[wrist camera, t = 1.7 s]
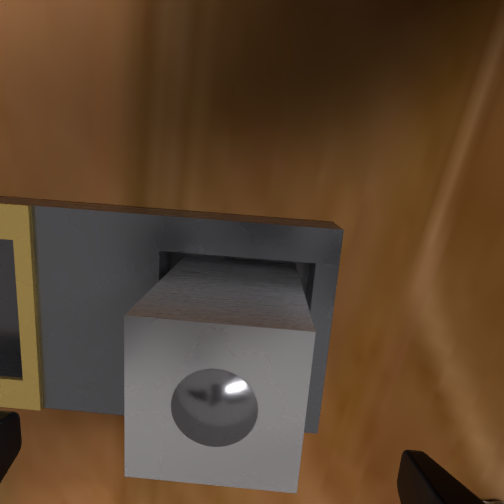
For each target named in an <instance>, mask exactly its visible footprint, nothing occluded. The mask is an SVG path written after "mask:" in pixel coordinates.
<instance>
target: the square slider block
mask: <svg viewBox="0 0 504 504" xmlns="http://www.w3.org/2000/svg"><path fill="white" fill-rule="evenodd" d="M315 334H316V331H315V328H314V324H313V321H312V318H311V315H310V311H309V308H308V305H307V301H306V298H305V295H304V291H303V288H302V285H301V281H300V278H299V275H298V271H297V268H296V265H290V264H277V263H265V262H253V261H241V260H228V259H216V258H204V257H191V256H184V257H183V258H182V259H181V260H180V261H179V262H178V263H177V264H176V265H175V266H174V267H173V268H172V269H171V270H170V271H169V272H168V273H167V274H166V275H165V276H164V277H163V278H162V279H161V280H160V281H159V282H158V283H157V284H156V285H155V286H154V287H153V288H152V289H151V290H150V291H149V292H148V293H147V294H145V295H144V296H143V297H142V298H141V299H140V300H139V301H138V302H137V303H136V304H135V305H134V306H133V307H132V308H131V309H130V310H129V311H128V312H127V313H126V314H125V315H124V418H125V476H126V477H136V478H146V479H156V480H166V481H177V482H187V483H197V484H207V485H217V486H227V487H237V488H247V489H258V490H268V491H278V492H288V493H297V485H298V477H299V469H300V460H301V452H302V443H303V435H304V427H305V418H306V410H307V401H308V393H309V385H310V376H311V368H312V359H313V351H314V343H315Z"/></svg>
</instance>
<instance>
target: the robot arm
mask: <svg viewBox="0 0 504 504" xmlns="http://www.w3.org/2000/svg"><path fill="white" fill-rule="evenodd" d="M21 442H22V440H21V427H20V417H19V415H18V413H16V412H9V411H0V483H1V481H2V479H3V478H4V476H5V474H6V473H7V471H8V469H9V468H10V466H11V465H12V463H13V461H14V460H15V458H16V456H17V455H18V453H19V451H20V448H21ZM397 488H398V493H399V497H400V501H401V504H485V503H484V502H483V501H482V500H481V499H479V498H478V497H477V496H476V495H475V494H473V493H472V492H471V491H470V490H469V489H467V488H466V487H465V486H464V485H463V484H461V483H460V482H459V481H458V480H457V479H455V478H454V477H453V476H452V475H451V474H449V473H448V472H447V471H446V470H445V469H444V468H442V467H441V466H440V465H439V464H438V463H436V462H435V461H434V460H433V459H432V458H430V457H429V456H428V455H427V454H425V453H424V452H422V451H416V450H405V451H404V452H403V453H402V457H401V462H400V468H399V473H398V478H397Z"/></svg>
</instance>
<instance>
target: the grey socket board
mask: <svg viewBox="0 0 504 504" xmlns="http://www.w3.org/2000/svg"><path fill="white" fill-rule="evenodd" d="M342 238H343V229H342V228H340V227H339V226H338V225H336V224H335V223H334V222H329V221H316V220H303V219H290V218H277V217H264V216H252V215H239V214H226V213H213V212H200V211H187V210H174V209H161V208H148V207H136V206H123V205H110V204H97V203H84V202H71V201H58V200H45V199H32V198H20V197H7V196H0V407H7V408H18V409H28V410H39V411H41V410H42V409H43V408H51V409H62V410H72V411H83V412H94V413H104V414H115V415H124V315H125V314H126V313H127V312H128V311H129V310H130V309H131V308H132V307H133V306H134V305H135V304H136V303H137V302H138V301H139V300H140V299H141V298H142V297H143V296H144V295H145V294H147V293H148V292H149V291H150V290H151V289H152V288H153V287H154V286H155V285H156V284H157V283H158V282H159V281H160V280H161V279H162V278H163V277H164V276H165V275H166V274H167V273H168V272H169V271H170V270H171V269H172V268H173V267H174V266H175V265H176V264H177V263H178V262H179V261H180V260H181V259H182V258H183V257H184V256H191V257H204V258H216V259H228V260H241V261H253V262H265V263H277V264H290V265H296V268H297V271H298V275H299V278H300V281H301V285H302V288H303V291H304V295H305V298H306V301H307V305H308V308H309V311H310V315H311V318H312V321H313V324H314V328H315V331H316V334H315V343H314V351H313V359H312V368H311V376H310V385H309V393H308V401H307V410H306V418H305V427H304V432H306V433H318V425H319V417H320V409H321V402H322V394H323V386H324V378H325V371H326V363H327V355H328V347H329V339H330V332H331V324H332V316H333V308H334V300H335V293H336V285H337V277H338V269H339V262H340V254H341V246H342Z"/></svg>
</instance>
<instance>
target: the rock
mask: <svg viewBox="0 0 504 504" xmlns="http://www.w3.org/2000/svg"><path fill="white" fill-rule="evenodd" d="M483 502H484V503H485V504H504V502H503V501H497V500H496V501H490V502H487V501H483Z"/></svg>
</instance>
